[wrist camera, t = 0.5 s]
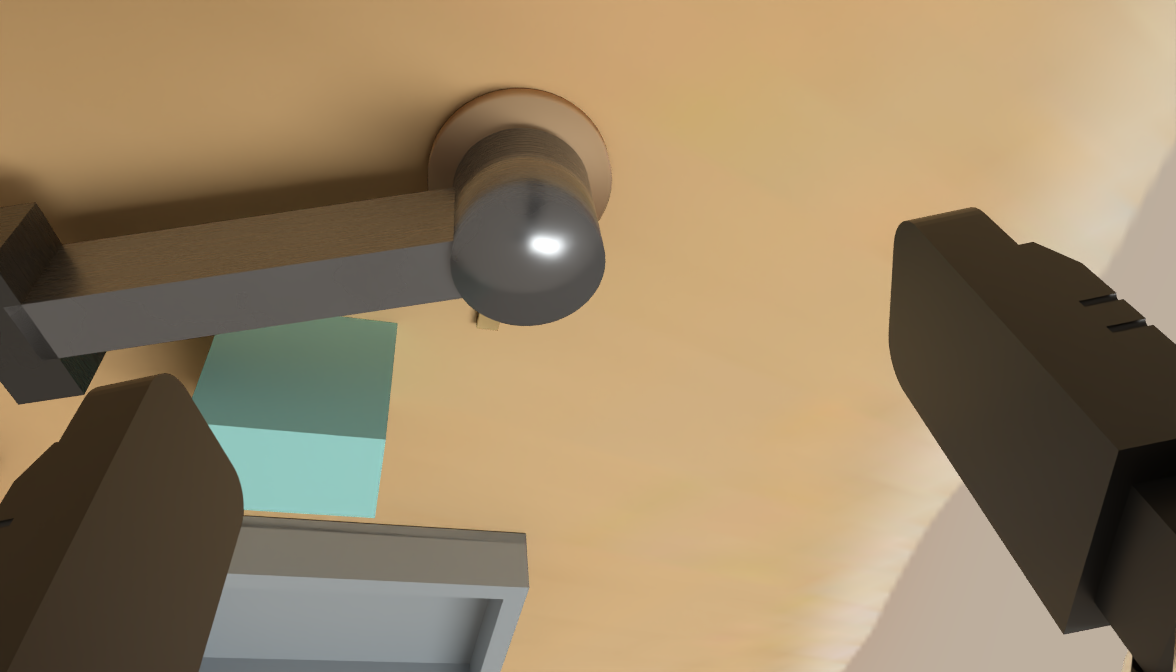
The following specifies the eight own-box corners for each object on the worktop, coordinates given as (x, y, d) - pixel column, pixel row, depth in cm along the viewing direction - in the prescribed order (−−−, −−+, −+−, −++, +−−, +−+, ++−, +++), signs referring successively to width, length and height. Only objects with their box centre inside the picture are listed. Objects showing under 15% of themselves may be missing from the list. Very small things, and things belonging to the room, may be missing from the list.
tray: (166, 510, 36) (146, 569, 34) (525, 533, 40) (529, 587, 38) (181, 656, 43) (165, 712, 41) (484, 663, 47) (485, 715, 45)
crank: (580, 109, 25) (596, 177, 22) (596, 245, 28) (612, 321, 25) (-19, 196, 25) (-91, 278, 22) (66, 323, 28) (14, 411, 25)
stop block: (226, 301, 30) (183, 422, 25) (397, 322, 31) (385, 439, 27) (229, 383, 32) (189, 506, 28) (387, 398, 34) (374, 518, 29)
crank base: (441, 71, 25) (440, 80, 25) (630, 107, 26) (633, 117, 26) (406, 314, 31) (406, 326, 30) (563, 333, 32) (565, 345, 32)
